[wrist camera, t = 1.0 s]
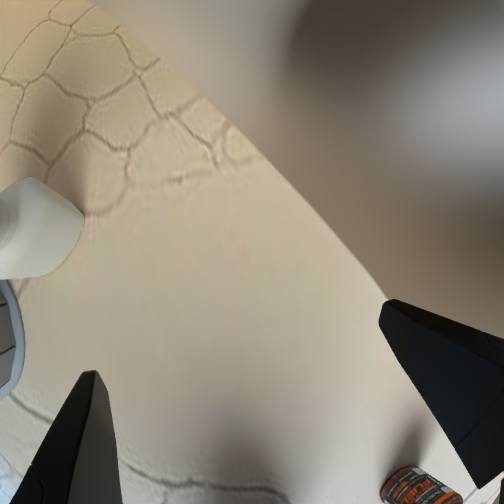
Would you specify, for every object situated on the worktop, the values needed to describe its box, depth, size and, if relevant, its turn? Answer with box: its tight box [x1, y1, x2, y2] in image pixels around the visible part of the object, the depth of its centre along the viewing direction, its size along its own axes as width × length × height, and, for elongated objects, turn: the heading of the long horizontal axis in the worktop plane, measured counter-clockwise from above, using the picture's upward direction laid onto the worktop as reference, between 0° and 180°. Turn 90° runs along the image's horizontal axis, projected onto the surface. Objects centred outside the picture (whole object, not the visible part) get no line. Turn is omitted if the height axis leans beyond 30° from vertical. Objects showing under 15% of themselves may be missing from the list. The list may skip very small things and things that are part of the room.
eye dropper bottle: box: [0, 177, 84, 280], centre depth 13 cm, size 4×6×12 cm
